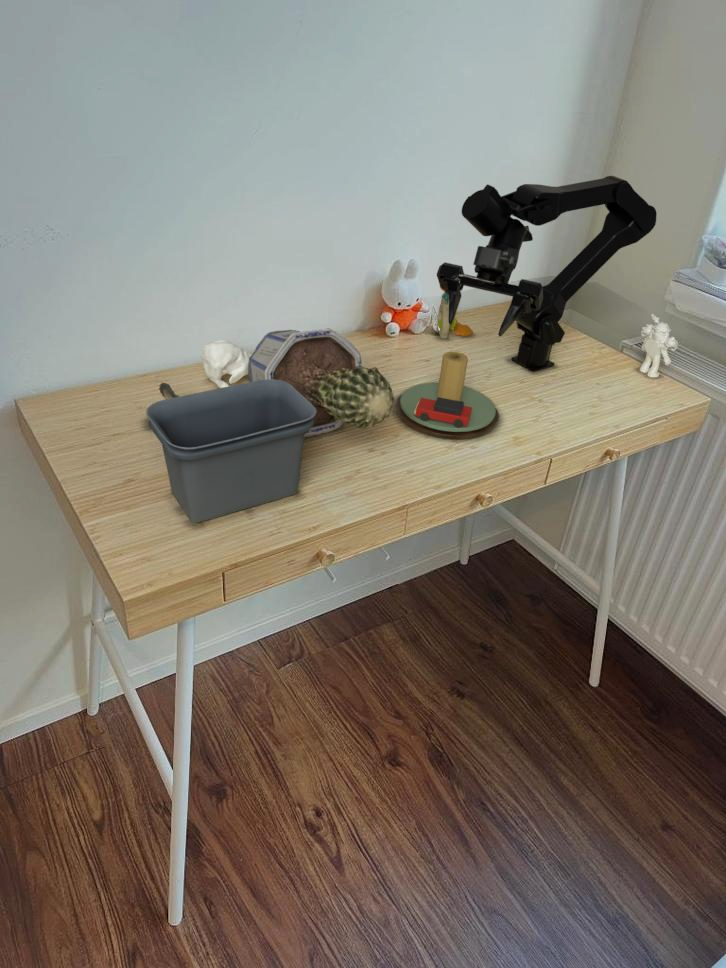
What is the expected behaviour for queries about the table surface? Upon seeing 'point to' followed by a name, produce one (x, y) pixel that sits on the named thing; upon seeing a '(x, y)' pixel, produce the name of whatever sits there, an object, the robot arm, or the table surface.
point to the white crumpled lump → (224, 361)
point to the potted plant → (324, 377)
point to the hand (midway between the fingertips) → (474, 329)
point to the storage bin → (232, 445)
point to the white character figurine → (656, 346)
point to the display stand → (444, 434)
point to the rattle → (444, 320)
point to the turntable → (448, 400)
